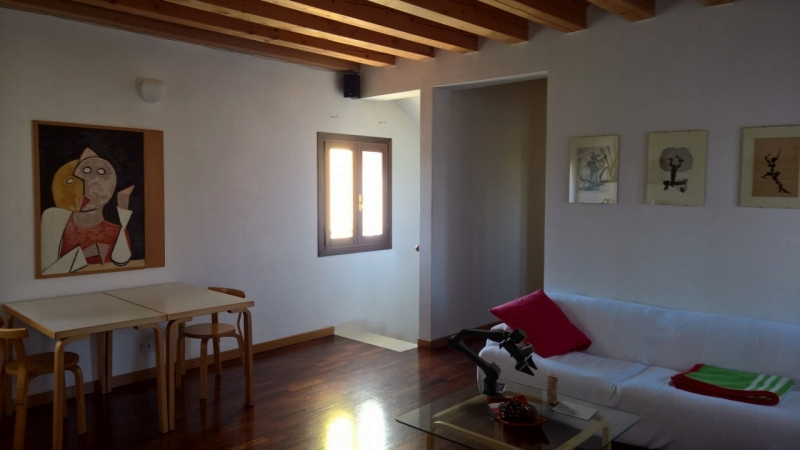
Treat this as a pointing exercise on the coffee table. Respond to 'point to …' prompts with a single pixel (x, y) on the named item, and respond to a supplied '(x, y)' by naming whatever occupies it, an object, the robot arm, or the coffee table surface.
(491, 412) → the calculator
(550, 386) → the block
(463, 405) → the coffee table surface
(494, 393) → the robot arm
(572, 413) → the mat
